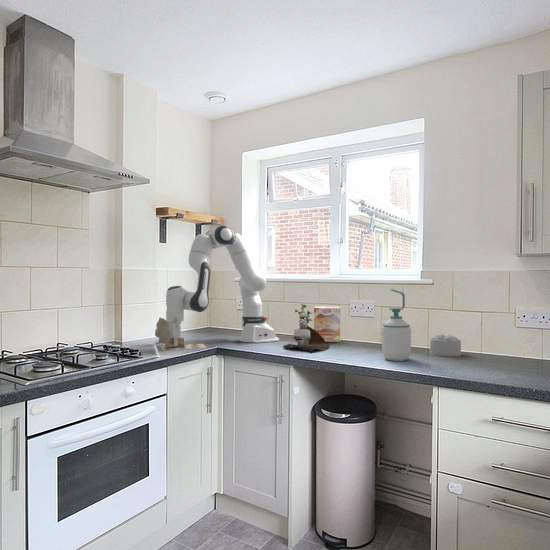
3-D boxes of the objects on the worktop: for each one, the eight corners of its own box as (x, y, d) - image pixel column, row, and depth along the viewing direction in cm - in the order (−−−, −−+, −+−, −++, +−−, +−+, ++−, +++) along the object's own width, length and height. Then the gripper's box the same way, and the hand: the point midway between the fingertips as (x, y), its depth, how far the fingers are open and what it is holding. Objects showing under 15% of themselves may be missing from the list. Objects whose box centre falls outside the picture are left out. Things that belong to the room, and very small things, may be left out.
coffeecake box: (313, 341, 240) (313, 307, 240) (314, 339, 247) (314, 306, 247) (340, 342, 238) (340, 307, 238) (340, 340, 245) (340, 306, 245)
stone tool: (175, 344, 235) (174, 317, 235) (172, 345, 231) (171, 317, 231) (156, 343, 237) (156, 316, 237) (153, 344, 234) (153, 317, 234)
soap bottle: (383, 355, 196) (383, 288, 196) (411, 357, 192) (411, 288, 192) (380, 360, 185) (379, 289, 185) (410, 362, 180) (409, 289, 180)
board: (202, 345, 228) (202, 343, 228) (206, 349, 216) (206, 347, 216) (160, 348, 221) (160, 345, 221) (162, 352, 209) (162, 350, 209)
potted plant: (281, 354, 215) (282, 306, 223) (303, 358, 229) (303, 312, 237) (313, 351, 203) (313, 301, 211) (334, 355, 217) (333, 308, 225)
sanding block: (183, 345, 221) (183, 337, 221) (184, 347, 216) (184, 338, 216) (165, 346, 218) (165, 338, 218) (166, 348, 213) (166, 339, 213)
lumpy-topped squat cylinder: (463, 356, 194) (463, 337, 194) (435, 356, 194) (434, 337, 194) (453, 352, 205) (453, 334, 205) (426, 352, 204) (426, 334, 204)
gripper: (183, 319, 208) (183, 347, 208) (179, 315, 228) (179, 341, 228) (170, 319, 206) (170, 348, 206) (167, 316, 226) (167, 342, 226)
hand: (175, 344), depth 217 cm, fingers open, 5 cm apart
